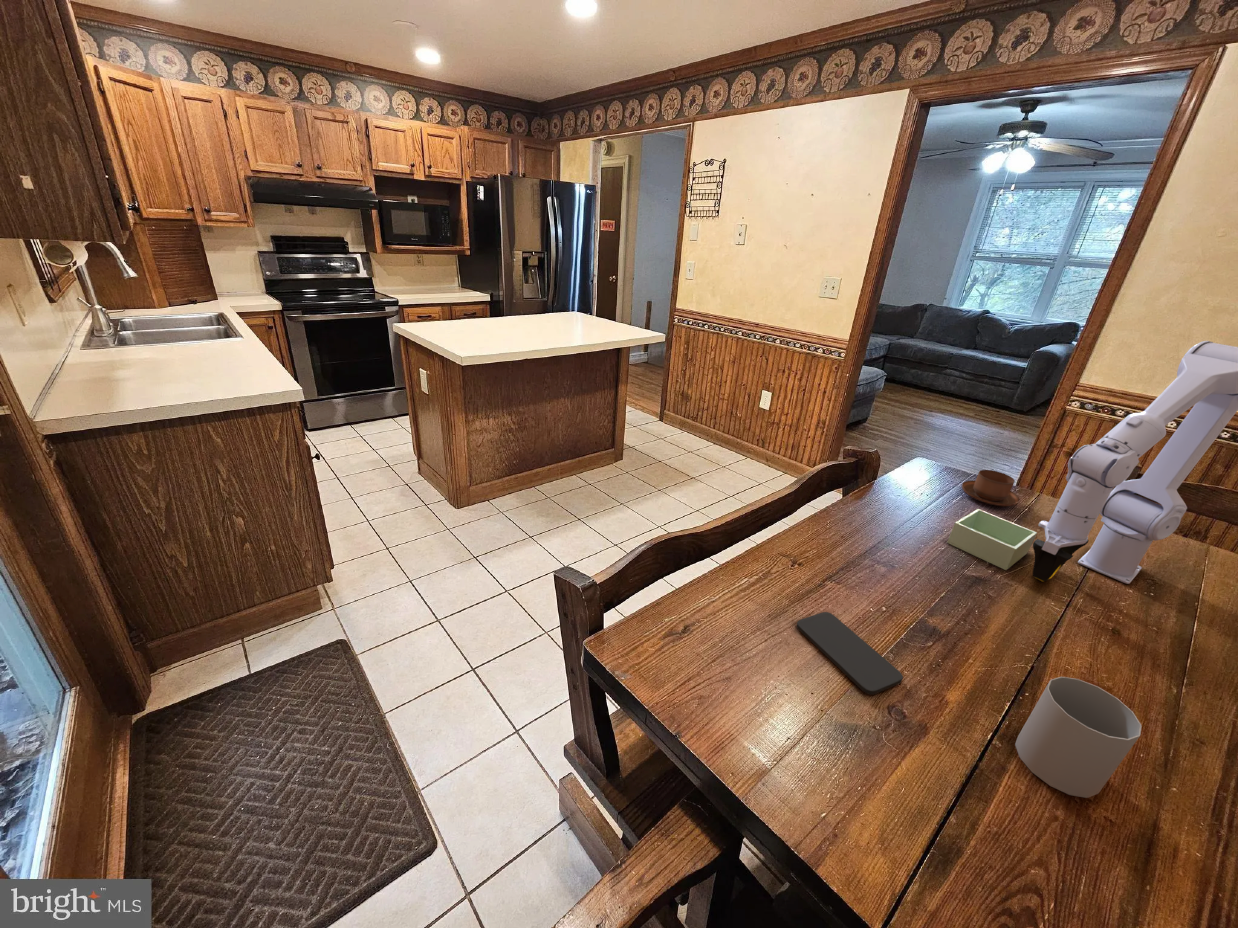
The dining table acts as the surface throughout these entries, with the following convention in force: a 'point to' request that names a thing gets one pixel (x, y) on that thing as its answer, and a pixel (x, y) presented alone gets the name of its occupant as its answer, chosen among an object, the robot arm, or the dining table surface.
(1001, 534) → the bin
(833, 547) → the dining table surface
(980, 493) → the cup and saucer
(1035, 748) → the cup
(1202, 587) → the dining table surface
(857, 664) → the phone
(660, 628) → the dining table surface
